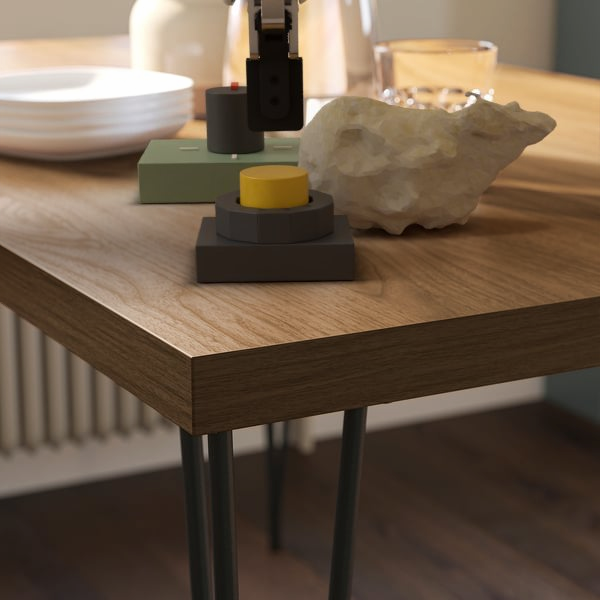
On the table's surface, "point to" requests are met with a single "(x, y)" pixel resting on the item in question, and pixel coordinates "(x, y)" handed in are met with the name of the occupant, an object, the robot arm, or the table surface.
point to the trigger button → (274, 186)
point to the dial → (230, 121)
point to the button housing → (275, 242)
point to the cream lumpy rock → (413, 158)
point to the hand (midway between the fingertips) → (275, 128)
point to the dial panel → (202, 168)
